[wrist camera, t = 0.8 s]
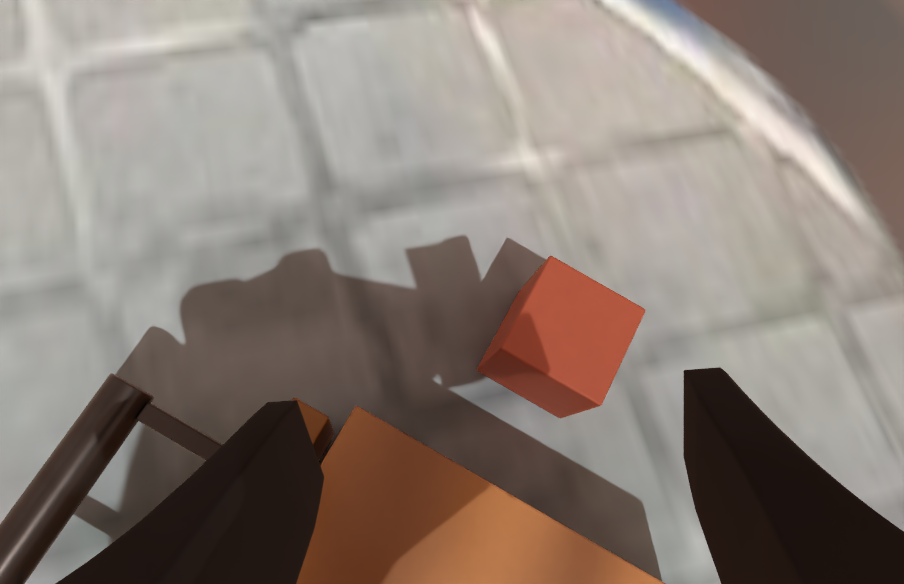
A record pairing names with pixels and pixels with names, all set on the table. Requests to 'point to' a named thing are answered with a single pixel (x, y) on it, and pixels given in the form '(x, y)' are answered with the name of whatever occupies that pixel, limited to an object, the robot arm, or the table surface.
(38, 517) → the drawer
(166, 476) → the table surface
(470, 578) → the cabinet
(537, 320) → the block
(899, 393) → the table surface
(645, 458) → the table surface
